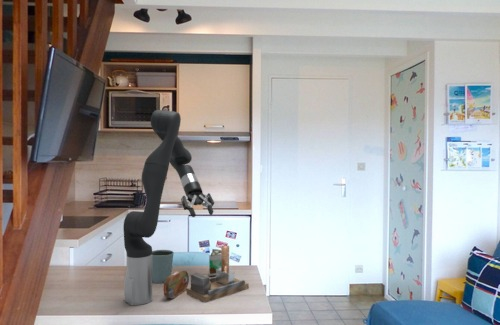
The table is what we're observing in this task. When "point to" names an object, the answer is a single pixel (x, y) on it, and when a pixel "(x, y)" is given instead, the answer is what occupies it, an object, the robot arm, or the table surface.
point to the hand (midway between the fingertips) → (203, 215)
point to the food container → (214, 262)
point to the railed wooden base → (213, 287)
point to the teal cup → (161, 265)
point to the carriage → (224, 268)
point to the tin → (176, 284)
